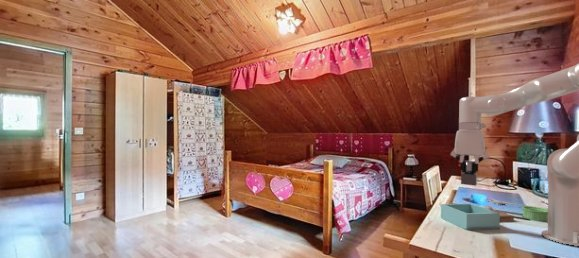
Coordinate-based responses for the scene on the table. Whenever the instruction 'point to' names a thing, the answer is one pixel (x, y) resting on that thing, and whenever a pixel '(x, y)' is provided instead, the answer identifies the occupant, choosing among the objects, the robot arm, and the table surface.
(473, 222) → the bin
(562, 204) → the robot arm
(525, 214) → the ramekin
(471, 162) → the square base knob
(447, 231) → the table surface
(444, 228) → the table surface
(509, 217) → the stud plate
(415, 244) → the table surface
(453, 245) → the table surface
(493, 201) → the adjustable wrench
